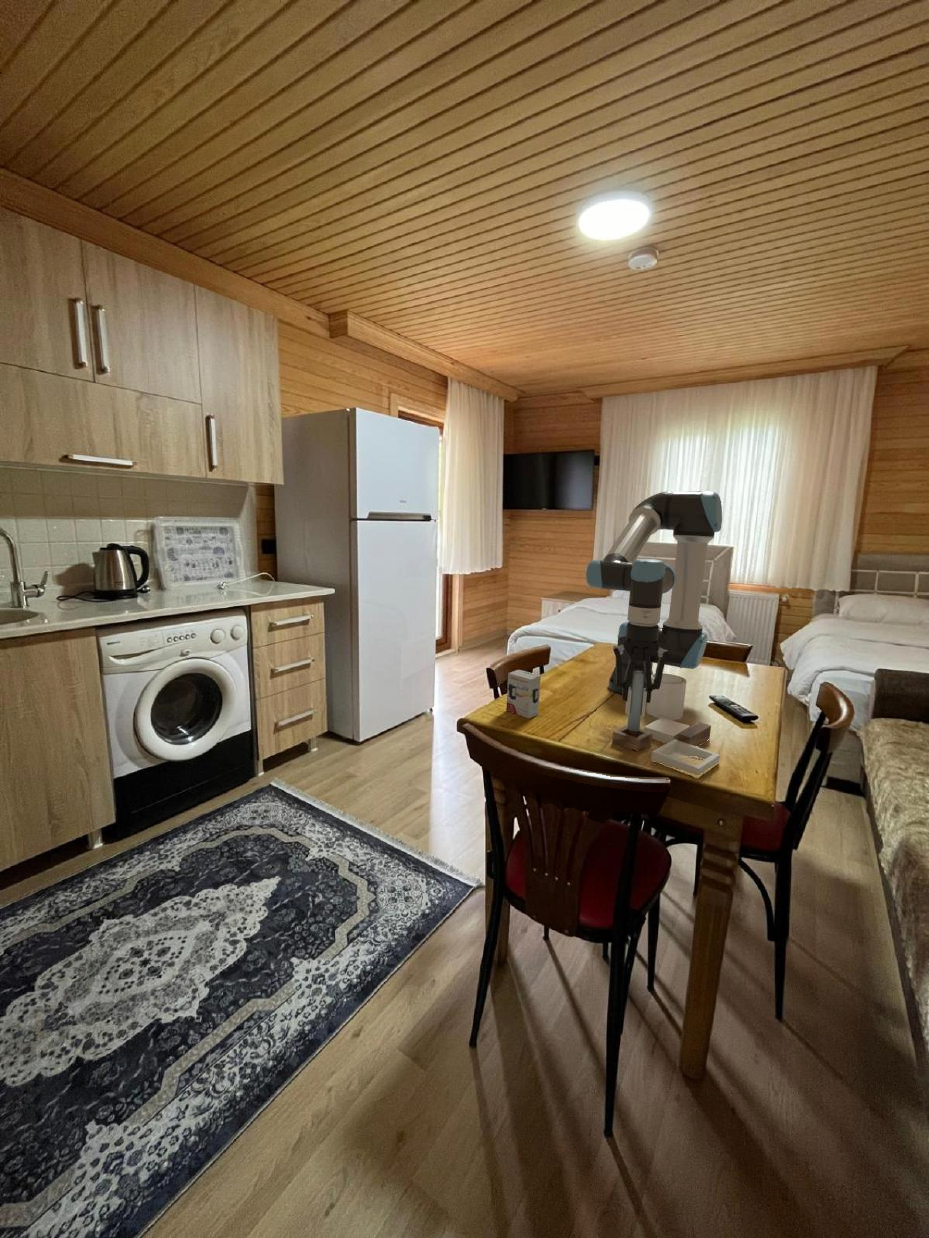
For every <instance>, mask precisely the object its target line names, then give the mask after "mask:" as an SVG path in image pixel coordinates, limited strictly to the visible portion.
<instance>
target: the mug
mask: <svg viewBox="0 0 929 1238" xmlns="http://www.w3.org/2000/svg"><path fill="white" fill-rule="evenodd" d="M654 678H655V673H653V674H652V675H651V681H652V683H654ZM686 688H687V679H686V678H684V677H682V676H680V675H675V674H669V673H663V674H662V679H661V684H660V688H659V689H655V690H652V692H651V701H650V703H646V707H645V713H647V715H650V716H652V717H655V718H657V719H660V718H661V717H662V718H665V719H669V720H672V721H675V720H680V719H682V718H683V715H684V706H685V698H686V692H687V691H686V690H687V689H686Z"/></svg>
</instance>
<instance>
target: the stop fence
mask: <svg viewBox="0 0 929 1238" xmlns="http://www.w3.org/2000/svg"><path fill="white" fill-rule="evenodd" d="M711 728H712V725H711V724H708V723H703V722H697V723H696V724H694V725H691V726H690V728H688V729H686V730H684V731H683V732H681V733H679V734H678V740H679V741H682V742H685V743H688V744H691V745H694V746H699V745H700V744H702V743H704V742H705V743H707V742H708V741H707V740H708V739H709V740H710V739H711V738H710V737H711ZM706 741H707V742H706ZM705 743H704V744H705ZM702 745H703V744H702ZM700 746H701V745H700ZM700 746H699V747H700Z"/></svg>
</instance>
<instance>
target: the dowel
mask: <svg viewBox="0 0 929 1238" xmlns="http://www.w3.org/2000/svg"><path fill="white" fill-rule="evenodd" d="M644 678H645V672H642V671H633V674H632V681H631V690H632V693H631V704H630V715H627V716H628V718H627V725H628V726H627V729H628V730H631V731H639V730H640V729H641V720H642V718H641V717H642V716H641V709H642V699H643V688H644Z"/></svg>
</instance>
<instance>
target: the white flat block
mask: <svg viewBox="0 0 929 1238" xmlns="http://www.w3.org/2000/svg"><path fill="white" fill-rule="evenodd" d="M690 727H691V725H688V724H685V723H681V722H678V721H675V720H669V719H665V718H662V717H661V718H657V719H656V720H654V721H652V722H650V723H648V724H647V725H645V726H644V727H643V730H645V731H648V732H651V733H652V740H654V739H656V740H655V741H657V740H659V741H658V742H660V741H661V743H663V742H664V743H663V744H666V743H669V742H670V741H672V740H674V739H676V740H678V734H679V733H681V732H683V731H684V730H686V729H688V728H690Z"/></svg>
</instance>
